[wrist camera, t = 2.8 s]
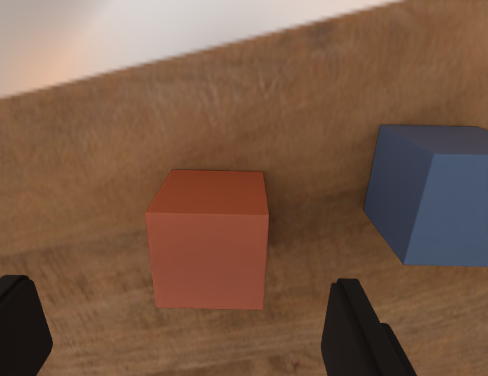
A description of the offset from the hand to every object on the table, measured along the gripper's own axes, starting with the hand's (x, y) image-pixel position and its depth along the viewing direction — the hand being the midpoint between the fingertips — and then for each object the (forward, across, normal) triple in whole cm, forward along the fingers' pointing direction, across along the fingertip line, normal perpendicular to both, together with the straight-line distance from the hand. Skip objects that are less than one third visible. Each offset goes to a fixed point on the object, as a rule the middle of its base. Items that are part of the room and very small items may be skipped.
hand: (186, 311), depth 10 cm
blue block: (+7, -10, -2) cm, 13 cm away
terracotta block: (+7, 0, 0) cm, 7 cm away
